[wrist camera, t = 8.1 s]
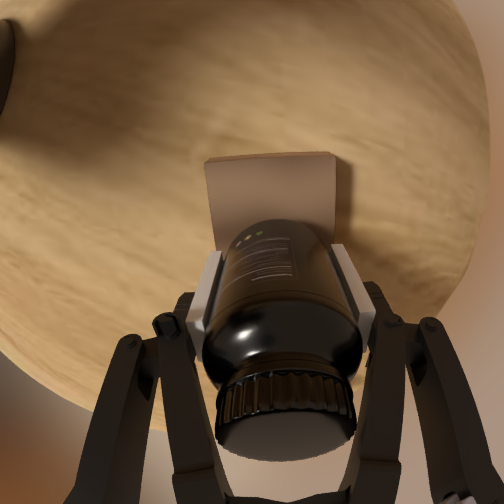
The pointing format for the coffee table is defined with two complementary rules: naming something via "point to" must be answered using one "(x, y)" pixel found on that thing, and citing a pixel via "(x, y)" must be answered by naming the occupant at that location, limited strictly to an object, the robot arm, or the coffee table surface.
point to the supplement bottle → (281, 346)
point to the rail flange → (271, 193)
